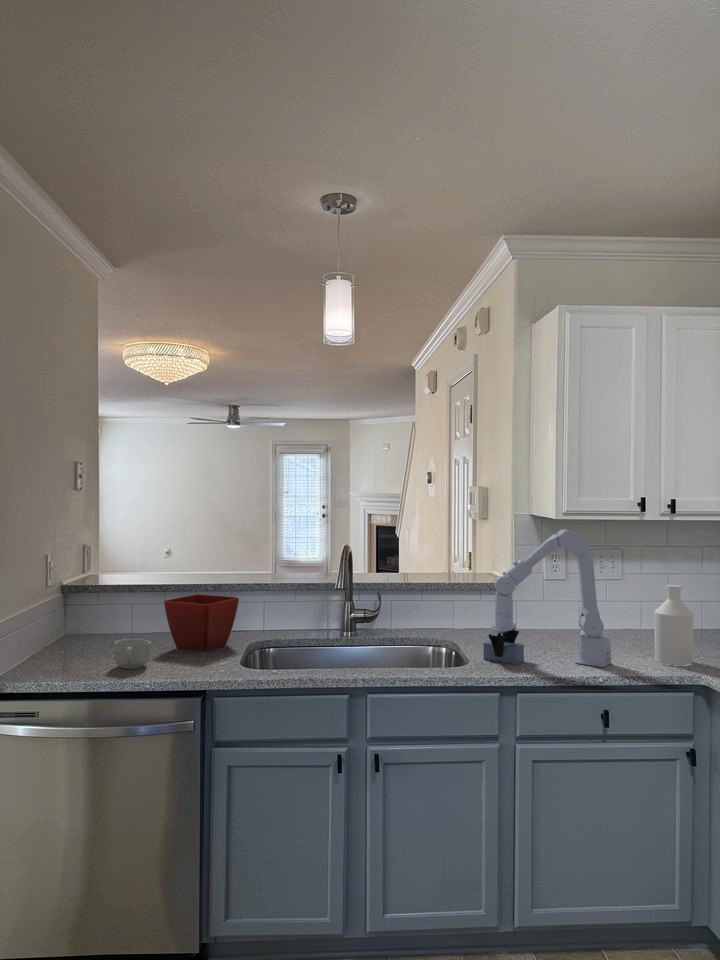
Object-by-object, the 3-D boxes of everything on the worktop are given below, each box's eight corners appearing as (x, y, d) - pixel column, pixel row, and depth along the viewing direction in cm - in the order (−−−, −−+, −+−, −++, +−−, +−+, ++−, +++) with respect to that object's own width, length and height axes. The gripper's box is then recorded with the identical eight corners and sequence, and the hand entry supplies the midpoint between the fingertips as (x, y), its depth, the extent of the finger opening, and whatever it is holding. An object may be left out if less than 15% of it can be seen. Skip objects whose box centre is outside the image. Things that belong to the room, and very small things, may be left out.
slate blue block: (523, 661, 244) (523, 644, 244) (516, 664, 240) (516, 647, 240) (491, 656, 251) (491, 640, 251) (483, 659, 246) (483, 642, 247)
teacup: (121, 662, 239) (121, 637, 239) (155, 663, 239) (155, 637, 239) (105, 673, 225) (105, 646, 225) (140, 674, 225) (141, 647, 225)
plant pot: (196, 639, 276) (196, 593, 276) (239, 644, 268) (240, 597, 268) (162, 649, 258) (162, 600, 258) (207, 655, 250) (207, 604, 250)
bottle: (694, 668, 237) (695, 588, 237) (654, 664, 241) (654, 586, 241) (692, 659, 248) (692, 584, 248) (653, 656, 252) (654, 582, 252)
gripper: (502, 608, 254) (502, 648, 254) (482, 614, 242) (482, 656, 242) (521, 611, 249) (521, 651, 249) (502, 617, 238) (502, 659, 238)
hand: (503, 654), depth 245 cm, fingers open, 7 cm apart
